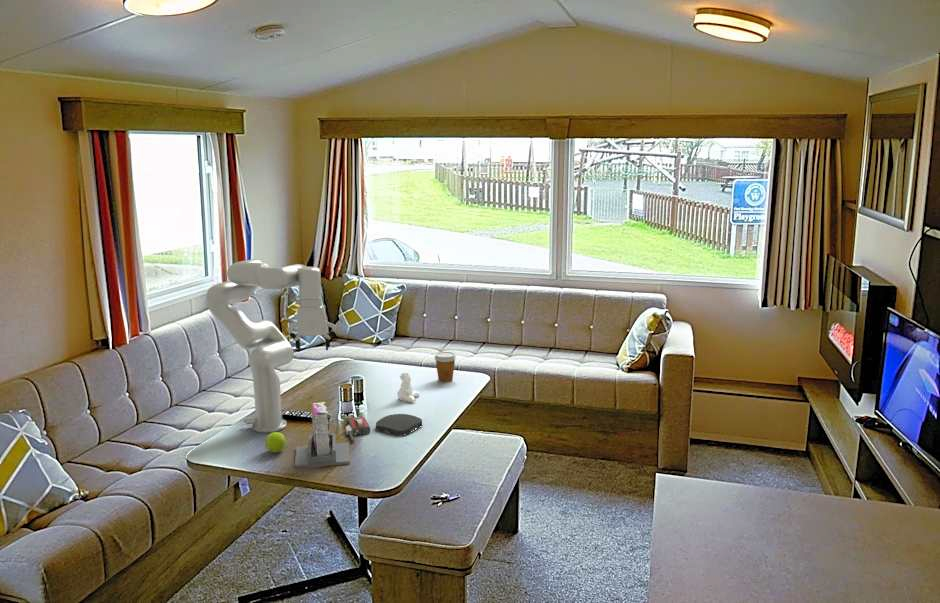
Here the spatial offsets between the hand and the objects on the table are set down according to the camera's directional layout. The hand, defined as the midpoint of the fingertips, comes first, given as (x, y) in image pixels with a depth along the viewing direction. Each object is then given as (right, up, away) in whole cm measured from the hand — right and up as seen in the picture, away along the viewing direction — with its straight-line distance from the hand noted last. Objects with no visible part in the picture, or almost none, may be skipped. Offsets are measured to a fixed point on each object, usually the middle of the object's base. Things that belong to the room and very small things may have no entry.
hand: (313, 350), depth 268 cm
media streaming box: (+29, -31, +18) cm, 46 cm away
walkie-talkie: (+14, -32, +13) cm, 37 cm away
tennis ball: (-12, -35, -4) cm, 37 cm away
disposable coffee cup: (+44, -18, +72) cm, 87 cm away
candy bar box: (+5, -35, -8) cm, 36 cm away
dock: (+5, -36, -8) cm, 37 cm away
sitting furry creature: (+29, -24, +48) cm, 61 cm away
